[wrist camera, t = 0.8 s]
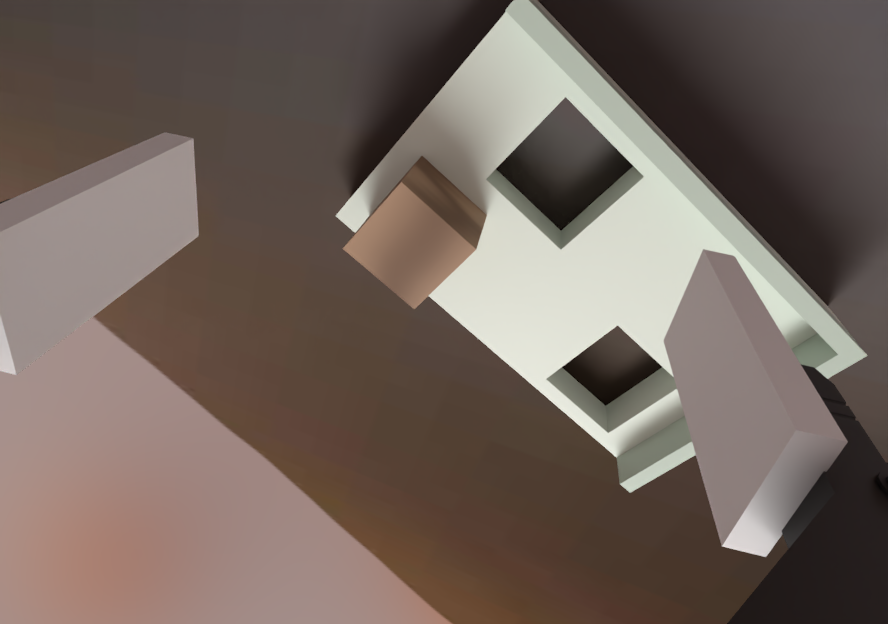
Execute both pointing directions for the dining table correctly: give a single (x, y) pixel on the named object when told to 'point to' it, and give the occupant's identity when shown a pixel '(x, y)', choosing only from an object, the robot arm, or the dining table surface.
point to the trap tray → (587, 239)
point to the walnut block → (418, 233)
